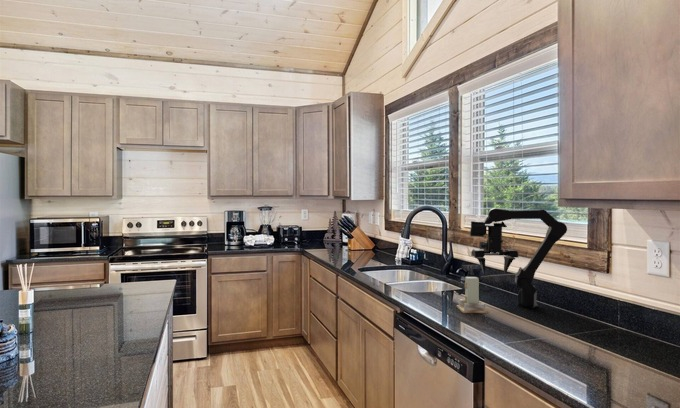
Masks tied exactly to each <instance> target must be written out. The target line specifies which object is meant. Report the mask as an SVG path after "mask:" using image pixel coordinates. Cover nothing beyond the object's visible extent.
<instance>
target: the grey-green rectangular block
mask: <svg viewBox="0 0 680 408" xmlns="http://www.w3.org/2000/svg"><path fill="white" fill-rule="evenodd" d="M464 279H465V280H464V281H465V282H464V299H465V303H480V298H479V296H480V295H479V290H480V286H479V285H480V282H479V281H480V280H479V279H480V278H479V277H477V276H465V277H464Z"/></svg>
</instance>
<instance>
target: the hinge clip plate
mask: <svg viewBox="0 0 680 408" xmlns="http://www.w3.org/2000/svg"><path fill="white" fill-rule="evenodd" d="M456 308H457V309H458V310H459V311H460V312H461V313H463V314H475V313H476V314H479V313H480V314H485V313H487V314H488V312H489V310H488V309H486V303H480V302H479V303H465V298H463V299H458V304H456Z"/></svg>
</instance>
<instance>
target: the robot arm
mask: <svg viewBox="0 0 680 408" xmlns="http://www.w3.org/2000/svg"><path fill="white" fill-rule="evenodd" d="M533 219H534V220H536V219H537V220H538V219H540V220H541V221H542V222H543V223H544V224H545V225H546V226H547V230H546V234H545V236H544V239H543V240H542V242H541V243H540V245H539V246H538V247H537V249H536V251H535V253H534V254H533V255H532V257H531V259H530V260H529V261H528V263H527V264H526V266H524V267H523V268H522V267H521V266H520V267H518V269H517V272H516V273H514V275H515V277H514V282H515V284H516V285H517V287H518V288H519V289H520V290H518V293H517V305H516V306H517V307H524V308H530V309H533V308H535V307H538V306H539V304H537V288H536V286H535V285H534V283H532V282H533V280H534V278H535V275H536V271H537V270H538V268H539V267H540V265H541V264H542V263H543V261H544V260H545V258H546V257H547V255H548V253H549V252H550V251H551V249H552V248H553V246H554V244H556V243H558V241H559V240H561V239H562V237H564V236H565V235H566V233H567V232H568V227H567V225H566V223H564V222H562V221H558V220H557V219H556V218H554V216H553V215H551V214H549V212H548V211H547V210H545V209H541V208H540V209H523V210H521V209H519V210H518V209H517V210H515V209H514V210H513V209H512V210H510V209H503V208H496V207H493V208H491V209H489V211H488V213H487V217H486V218H485V219H484V220H483V221H476V220H471V221H470V230H469V231H470V233H469V234H470V235H469V236H470V237H474V238H475V237H476V238H477V237H478V238H483V237H484V236H487V239H486V242H485V241H479V243H478V244H479V245H478V247H479V248H477V249H476V248H475V249H474V248H473V249H472V250H471V253H470V254H471V256H472V257H473V258H475V259H477V261H478V263H479V265H480V268H481V270H482V273H483V274H485V273H486V258H485V256H503V258H504V262H503V263H504V264H503V273H504V274H506V273H507V271H508V270H509V268H510V265H511V264H512V263H513V261H514V260H516V258H519V257H520V256H519V252H518V250H516V249H504V250H503V243H504V240H503V228H507V224H505V222H504V221H509V220H533ZM492 223H493V224H492ZM491 224H492V225H491Z"/></svg>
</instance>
